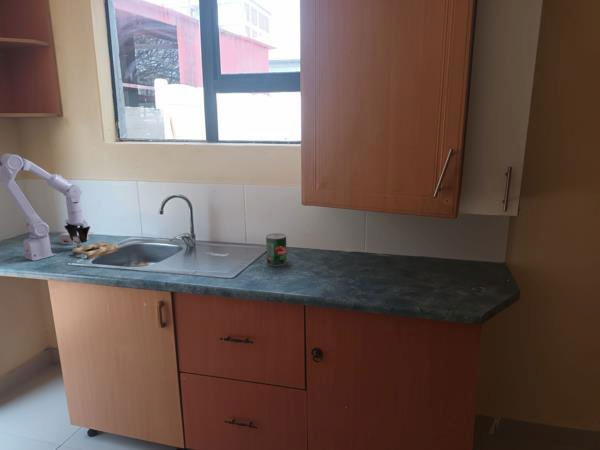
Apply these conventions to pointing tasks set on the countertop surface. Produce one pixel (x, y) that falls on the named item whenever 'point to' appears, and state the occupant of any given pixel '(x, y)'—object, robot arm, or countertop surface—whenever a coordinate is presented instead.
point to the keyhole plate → (96, 250)
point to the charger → (69, 238)
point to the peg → (77, 241)
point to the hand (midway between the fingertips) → (79, 241)
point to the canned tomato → (276, 249)
